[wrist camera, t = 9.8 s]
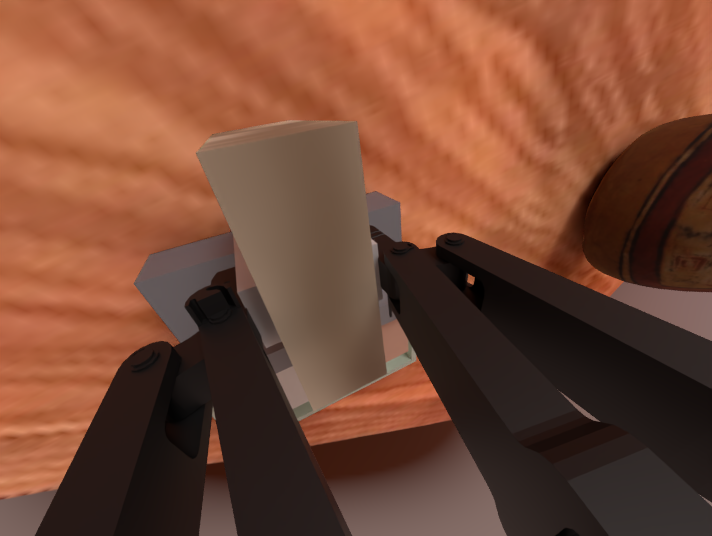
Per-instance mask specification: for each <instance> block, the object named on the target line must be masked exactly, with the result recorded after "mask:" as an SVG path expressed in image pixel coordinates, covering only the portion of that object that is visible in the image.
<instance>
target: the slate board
mask: <svg viewBox="0 0 712 536" xmlns="http://www.w3.org/2000/svg"><path fill="white" fill-rule="evenodd" d="M366 200H367V209H368V217H369V225H372V226H374V227H376V228H377V229H379V231H381V232H383V233H384V234H385V235H387V236H388V237H390V238H391V239H392V240H394V241H395V242H400V241H401V242H402V240H401V213H400V202H398V201H395V200H393V199H391V198H389V197H387V196H385V195H383V194H381V193H379V192H377V191H375V192H372V193H368V194H366ZM232 267H235V255H234V241H233V233H232V232H229V233H226V234H222V235H218V236H215V237H211V238H208V239H204V240H201V241H197V242H194V243H190V244H186V245H183V246H179V247H176V248H172V249H169V250H165V251H161V252H158V253H154V254H151V255H149V257H148V259H147V260H146V262H145V264H144V266H143V268H142V270H141V271H140V273H139V275H138V277H137V279H136V280H135V282H134V285H135V286H136V287H137V289H138V290H139V291H140V292H141V294H142V295H143V296H144V297H145V299H146V300H147V301H148V302H149V304H150V305H151V306H152V308H153V309H154V310H155V311H156V313H157V314H158V315H159V316H160V318H161V319H162V320H163V322H164V323H165V324H166V325H167V327H168V328H169V329H170V330H171V332H172V333H173V334H174V335H175V337H176V338H177V339H178V341H179V342H180V343H182V342H183V341H185V340H187V339H188V338H190V337H191V336H193V335H194V334H196V333H197V332H198V331H199V329H198V326H197V324H196V323H195V322H194V320H193V319H192V317H191V316H190V314H189V313H188V312H187V310H186V309H185V307H184V306H185V302H186V301H187V300H188V298H189V297H190V296H191V295H192V294H194V293H195V292H196V291H198V290H200V289H202V288H204V287H206V286H209V285H211V280H212V279H213V277H214V276H215V274H216V273H217V272H220V271H223V270H226V269H229V268H232Z"/></svg>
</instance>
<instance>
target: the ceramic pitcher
mask: <svg viewBox="0 0 712 536" xmlns="http://www.w3.org/2000/svg"><path fill="white" fill-rule="evenodd" d="M583 251H584V253H585V257H586V259H587V260H588V262H589V263H590V264H591V265H592V266H593V267H595V268H596V269H598V270H599V271H601V272H602V273H604V274H606V275H609V276H612V277H614V278H617V279H619V280H622V281H624V282H628V283H633V284H637V285H642V286H646V287H652V288H658V289H669V290H678V291H694V292H712V114H708V115H701V116H694V117H688V118H683V119H679V120H676V121H672V122H669V123H665V124H662V125H660V126H658V127H656V128H654V129H652V130H650V131H648V132H646V133H645V134H643V135H641V136H640V137H639V138H637V139H636V140H635V141H634V142H633V143H632V144H631V145H630V146H628V147H627V148H626V149H625V150H624V152H623V153H622V154H621V155H620V156H619V157H618V158H617V159H616V161H615V162H614V163H613V165H612V166H611V167H610V169H609V170H608V172H607V173H606V174H605V176H604V178H603V179H602V181H601V183H600V185H599V187H598V188H597V190H596V192H595V194H594V195H593V198H592V200H591V202H590V204H589V207H588V210H587V214H586V219H585V226H584V239H583Z"/></svg>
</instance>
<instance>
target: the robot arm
mask: <svg viewBox="0 0 712 536" xmlns="http://www.w3.org/2000/svg"><path fill="white" fill-rule="evenodd" d="M369 226H370V234H371V243H372V251H373V259H374V268H375V276H376V285H377V293H378V301H379V300H382V299H383V294H382V289H383V290H384V291H385V292H386V293H387V297H388V308H389V316H390V317H392V311H393V313H394V315H395V317H396V319H397V320H398V322H399V324H400V326H401V328H402V330H403V331H404V333H405V335H406V337H407V339H408V340H409V342H410V344H411V346H412V348H413V350H414V351H415V353H416V355H417V357H418V359H419V361H420V362H421V364H422V366H423V368H424V370H425V372H426V373H427V375H428V377H429V379H430V381H431V382H432V384H433V386H434V388H435V390H436V392H437V393H438V395H439V397H440V399H441V401H442V403H443V404H444V406H445V408H446V410H447V412H448V414H449V415H450V417H451V419H452V421H453V423H454V424H455V426H456V428H457V430H458V431H459V434H460V435H461V437H462V439H463V441H464V443H465V445H466V446H467V448H468V450H469V452H470V454H471V455H472V457H473V459H474V461H475V463H476V464H477V466H478V468H479V470H480V472H481V474H482V476H483V477H484V479H485V481H486V483H487V485H488V487H489V489H490V491H491V493H492V495H493V497H494V500H495V503H496V507H497V511H498V515H499V518H500V521H501V523H502V526H503V528H504V530H505V532H506V534H507V536H712V506H711V505H710V504H709V503H707V502H706V501H705V500H704V499H703V498H702V497H704V498H706V499H707V500H709V501H710V502H712V341H710V340H708V339H705V338H703V337H701V336H698V335H696V334H694V333H692V332H689V331H687V330H685V329H682V328H680V327H678V326H675V325H673V324H671V323H668V322H666V321H664V320H661V319H659V318H657V317H654V316H652V315H650V314H647V313H645V312H643V311H641V310H638V309H636V308H634V307H631V306H629V305H627V304H624V303H622V302H620V301H617V300H615V299H613V298H610V297H608V296H606V295H603V294H601V293H599V292H597V291H594V290H592V289H590V288H587V287H585V286H583V285H580V284H578V283H576V282H573V281H571V280H569V279H566V278H564V277H562V276H559V275H557V274H555V273H553V272H550V271H548V270H546V269H543V268H541V267H539V266H536V265H534V264H532V263H529V262H527V261H525V260H522V259H520V258H518V257H515V256H513V255H511V254H509V253H506V252H504V251H502V250H499V249H497V248H495V247H492V246H490V245H488V244H485V243H483V242H481V241H478V240H476V239H474V238H471V237H469V236H467V235H464V234H459V233H447V234H444V235H441V236H439V237H438V238H437V240H436V247H432V248H425V249H419V248H418V247H417V246H416V245H414V244H413V243H410V242H401V241H400V242H395V241H394V240H392V239H391V238H390V237H388V236H387V235H385V234H384V233H383V232H381V231H379V229H377V228H376V227H374V226H372V225H369ZM233 241H234V255H235V267H232V268H229V269H226V270H223V271H220V272H217V273H216V274H215V276H214V277H213V279H212V280H211V285H209V286H206V287H204V288H202V289H200V290H198V291H196V292H195V293H194V294H192V295H191V296H190V297H189V298H188V300H187V301H186V302H185V306H184V307H185V309H186V310H187V312H188V313H189V314H190V316H191V317H192V319H193V320H194V322H195V323H196V324H197V326H198V329H199V331H198V332H197V333H196V334H194V335H193V336H191V337H190V338H188V339H187V340H185V341H183V342H182V343H180V344H178V345H176V346H175V347H172V346H171V345H170V344H169V343H168V342H164V341H159V342H155V343H151V344H149V345H147V346H144V347H142V348H140V349H138V350H137V351H135V352H134V353H133V354H131V355H130V356H129V357H128V358H127V359H126V360H125V361H124V362H123V363H122V365H121V366H120V368H119V369H118V371H117V373H116V375H115V377H114V379H113V381H112V383H111V385H110V387H109V389H108V391H107V393H106V395H105V397H104V399H103V401H102V403H101V405H100V406H99V408H98V410H97V412H96V414H95V416H94V418H93V420H92V422H91V424H90V426H89V428H88V430H87V432H86V434H85V436H84V438H83V440H82V442H81V444H80V446H79V448H78V450H77V452H76V454H75V456H74V458H73V460H72V462H71V464H70V466H69V468H68V470H67V472H66V474H65V476H64V478H63V480H62V482H61V484H60V486H59V488H58V490H57V493H56V495H55V496H54V499H53V500H52V502H51V504H50V507H49V509H48V510H47V512H46V515H45V516H44V518H43V521H42V522H41V524H40V526H39V528H38V530H37V533H36V535H35V536H199V528H200V519H201V510H202V501H203V491H204V483H205V474H206V465H207V456H208V447H209V438H210V429H211V420H212V411H213V408H214V413H215V418H216V424H217V429H218V434H219V440H220V445H221V450H222V455H223V461H224V466H225V471H226V476H227V481H228V487H229V492H230V498H231V503H232V508H233V513H234V518H235V524H236V529H237V534H238V536H352V535H351V532H350V531H349V528H348V526H347V524H346V522H345V520H344V518H343V515H342V513H341V511H340V509H339V507H338V505H337V503H336V501H335V499H334V496H333V494H332V492H331V490H330V488H329V486H328V484H327V482H326V479H325V477H324V475H323V473H322V471H321V469H320V467H319V464H318V462H317V460H316V458H315V456H314V454H313V452H312V450H311V447H310V445H309V443H308V441H307V439H306V437H305V435H304V433H303V430H302V428H301V426H300V424H299V422H298V420H297V418H296V416H295V413H294V411H293V409H292V407H291V405H290V403H289V401H288V399H287V396H286V394H285V392H284V390H283V388H282V386H281V384H280V382H279V379H278V377H277V375H276V373H275V371H274V369H273V367H272V365H271V363H270V360H269V358H268V356H267V354H266V352H265V351H264V349H263V343H264V345H265V347H266V348H268V347H270V346H272V345H275V344H277V343H280V342H282V341H281V339H280V336H279V334H278V332H277V330H276V328H275V325H274V323H273V321H272V319H271V317H270V315H269V312H268V310H267V308H266V306H265V304H264V301H263V299H262V297H261V295H260V293H259V290H258V288H257V286H256V284H255V282H254V279H253V277H252V275H251V273H250V271H249V268H248V266H247V264H246V262H245V260H244V258H243V255H242V253H241V251H240V249H239V247H238V244H237V242H236V240H235V238H234V236H233ZM468 274H470V275H472V276H473V277H475V281H474V285H472V284H470V283H468V282H467V280H468ZM262 341H263V343H262ZM557 389H558V390H559V391H560V392H562V393H563V394H564V395H566V396H567V397H568V398H570V399H571V400H572V401H574V402H575V403H576V404H578V405H579V406H580V407H582V408H583V409H584V410H586V411H587V412H588V413H590V414H591V415H592V416H594V417H595V418H596V419H598V420H599V421H600V422H597V421H593V420H591V419H589V418H587V417H586V416H584V415H583V414H582V413H581V412H579V411H578V410H577V409H576V408H575V407H574V406H573V405H572V404H571V403H570V402H569V401H568V400H567V399H566V398H565V397H564V396H563V395H562V394H561V393H560V392H559V391H558V390H557ZM700 495H701V496H702V497H701V496H700Z"/></svg>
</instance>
